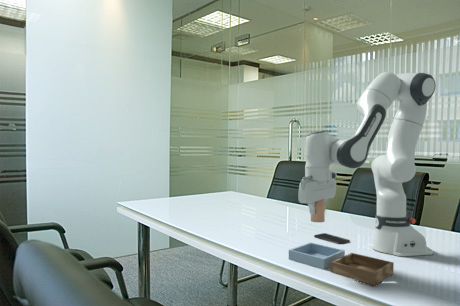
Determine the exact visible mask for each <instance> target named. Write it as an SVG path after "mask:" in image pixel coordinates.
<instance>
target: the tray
mask: <svg viewBox="0 0 460 306" xmlns="http://www.w3.org/2000/svg"><path fill="white" fill-rule="evenodd" d="M394 264H395V262H393V261H389V260H384V259H381V258H376V257H372V256H367V255H363V254H359V253H355V252H350V253H347V254H345V256H343V257H341V258H339V259H337V260H334V261H332V262H331V266H330V273H333V274H336V275H340V276H343V277H346V278H349V279H353V280H355V281H358V282H357V283H360V282H361V284H364V283H365V285H367V284H369V285H368V286H370V285H372V286H371V287H374V286H375V287H377V286H378V285H380V284H381V283H383V282H382V281H384V280H385V279H386V278H388V277H392V276H394V268H395V267H394ZM379 283H380V284H379ZM376 285H377V286H376Z"/></svg>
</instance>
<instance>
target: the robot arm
mask: <svg viewBox="0 0 460 306" xmlns="http://www.w3.org/2000/svg"><path fill="white" fill-rule="evenodd" d="M435 90H436V81H435V78H434V77H433V76H432V75H431V74H429V73H426V72H403V73H393V72H391V71H390V72H389V71H384V72H381V73H380V74H378V75H377V76H376V77H375V78H374V79H373V80H372V81H371V82H370V83H369V84H368V85H367V87H366V88H365V89H364V90H363V92H362V94H361V95H360V96H359V98H358V101H357V102H356V103H357V104H356V108H357V111H358V113H359V115H360V116H362V117H363V119H362V121H361V124H360V126H359V127H358V129H357V130H356V132H355V134H354V135H353V136H352V137H350V138H348V139H340V138H337V137H335V136H333V135H331V134H330V133H329V132H328V131H327V130H318V131H313V132H310V133H308V134H307V135H306V138H305V144H304V156H305V166H304V176H303V177H302V179H301V180H300V182H299V186H298V199H297V200H298V202H299V203H300V204H307V207H308V209H309V214H310V215H311V214H316V209H315V207H314V205H315V202H316V201H319V200H323V199H325V208H326V207H327V203H328V199H334V198H335V196H336V194H337V193H336V192H337V182H336V181H337V180H336V179H337V173H336V172H334V171H333V170H332V169H330V168H331V167H330V166H331V165H334V166H339V167H345V168H348V169H357V168H360V167H362V166H363V165H364V164H365V163H366V161H367V159H368V158H369V157H368V156H369V152H370V148H371V146H372V143H373V142H374V141H375V138H376V137H377V136H378V135H377V134H378V132H379V131H380V129H381V127H382V125H383V124H384V122H385V119H386V116H387V111H388V110H389V109H390V107H391V106H392V104H393V102H394V101H395V102H399V107H398V109H397V111H395V112H396V113H395V115H394V118H393V121H392V123H391V126H390V129H389V132H388V134H387V137H386V138H387V148H386V149H387V150H386V154H381V155H379V156H377V157H375V158H374V159H373V161H372V162H371V166H370V167H371V171H372V174H373V179H374V188H375V190H376V191H375V192H376V214H375V215H374V216H375V218H374V227H375V232H374V238H373V242H372V245H371V248H372V249H373V250H375V251H377V252H380V253H384V254H389V255H394V256H397V257H413V256H415V257H416V256H431V255H434V250H433V249H431V248H430V247H428V246H427V240H426V238H425V236H424V235H423V234H422V233H420V232H419V231H418V230H417V229H416V228H414V227H413V225H414V224H415V222H416V219H415V218H413V217H409V216H407V196H406V193H405V189H404V186H403V183H407V182H409V181H412V179H413V178H414V177H415V175H416V171H417V168H416V164H415V159H416V158H415V156H416V149H417V144H418V141H419V139H420V135H421V131H422V129H423V127H424V124H425V119H426V116H427V109H428V102H429V101H430V99H431V98H432V96H433V95H434V93H435V92H436V91H435ZM411 224H413V225H412V226H411Z"/></svg>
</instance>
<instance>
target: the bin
mask: <svg viewBox="0 0 460 306" xmlns="http://www.w3.org/2000/svg"><path fill="white" fill-rule="evenodd" d="M345 252H346V250H344V249H340V248H337V247H332V246H328V245H323V244H320V243H319V244H318V243H314V242H308V243H305V244H302V245H299V246H296V247H294V248H290V249H288V260H291V261H292V262H293V261H294V262H297V263H300V264H304V265H307V266H310V267H311V266H312V267H315V268H318V269H321V270H326V269H327V268H331V262H332V261H334V260H337V259H339V258H341V257H343V256H345V255H346V254H345Z"/></svg>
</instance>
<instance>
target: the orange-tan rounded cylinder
mask: <svg viewBox="0 0 460 306" xmlns="http://www.w3.org/2000/svg"><path fill="white" fill-rule="evenodd" d="M314 207H315V209H316V214H310V222H312V223H325V221H326V219H325V217H326V216H325V212H326V207H325V199H323V200H319V201H316V202H315V205H314Z"/></svg>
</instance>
